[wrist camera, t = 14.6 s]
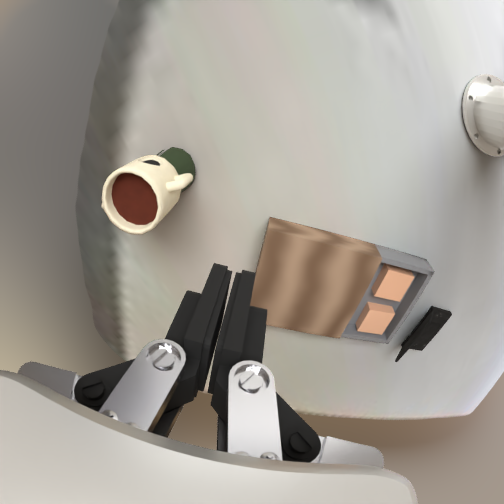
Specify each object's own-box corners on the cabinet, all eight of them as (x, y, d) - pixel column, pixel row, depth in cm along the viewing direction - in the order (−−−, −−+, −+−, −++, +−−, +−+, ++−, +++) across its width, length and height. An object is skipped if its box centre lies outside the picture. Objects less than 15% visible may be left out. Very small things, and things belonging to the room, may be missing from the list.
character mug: (205, 133, 34) (166, 152, 23) (219, 184, 37) (189, 225, 26) (135, 155, 36) (79, 184, 25) (150, 200, 39) (103, 243, 28)
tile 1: (369, 309, 42) (367, 301, 43) (357, 331, 44) (355, 322, 46) (395, 314, 42) (392, 306, 43) (381, 334, 44) (379, 326, 46)
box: (426, 259, 39) (434, 271, 36) (384, 329, 47) (388, 343, 44) (375, 244, 39) (381, 256, 36) (336, 321, 47) (338, 336, 44)
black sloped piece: (430, 353, 48) (420, 379, 41) (403, 339, 52) (390, 363, 45) (454, 307, 43) (450, 330, 36) (424, 293, 48) (415, 313, 41)
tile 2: (388, 269, 38) (384, 262, 39) (374, 296, 40) (371, 288, 42) (414, 276, 38) (410, 269, 39) (399, 301, 40) (396, 294, 42)
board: (375, 244, 39) (382, 258, 35) (336, 321, 47) (339, 338, 44) (269, 217, 39) (267, 229, 35) (247, 303, 47) (244, 319, 44)
